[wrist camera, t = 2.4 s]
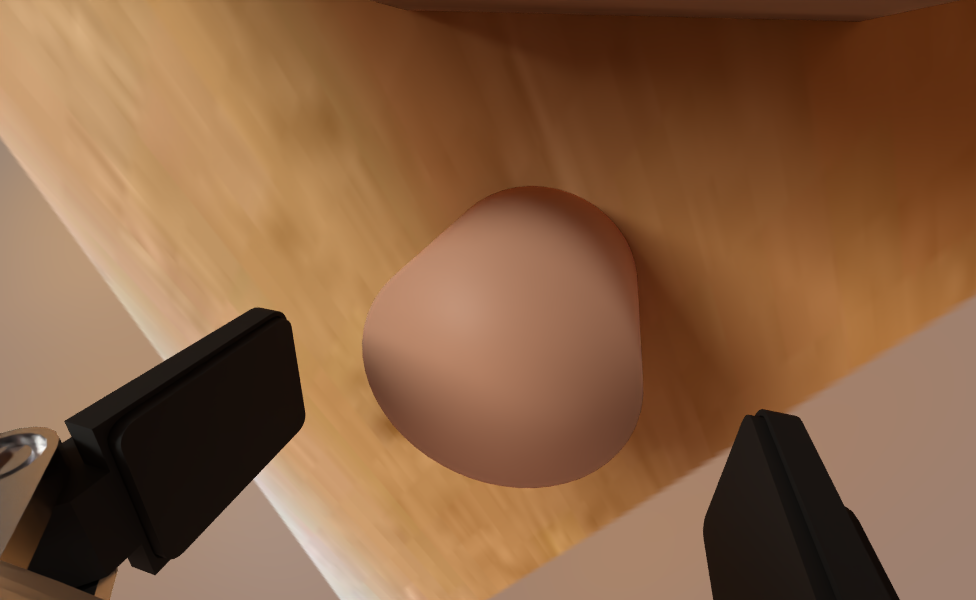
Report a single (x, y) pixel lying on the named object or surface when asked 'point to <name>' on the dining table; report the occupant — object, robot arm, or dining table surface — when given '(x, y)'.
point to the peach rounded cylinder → (513, 341)
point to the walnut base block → (684, 7)
